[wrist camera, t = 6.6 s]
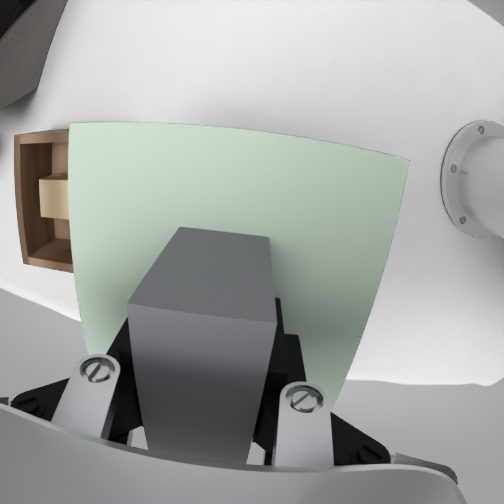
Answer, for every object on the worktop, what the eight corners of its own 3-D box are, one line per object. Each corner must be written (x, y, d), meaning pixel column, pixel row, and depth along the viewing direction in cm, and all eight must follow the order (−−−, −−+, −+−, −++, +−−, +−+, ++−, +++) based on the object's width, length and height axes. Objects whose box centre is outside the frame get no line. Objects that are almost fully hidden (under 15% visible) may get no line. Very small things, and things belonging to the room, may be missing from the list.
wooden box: (138, 128, 26) (110, 131, 21) (134, 252, 31) (111, 279, 25) (51, 130, 26) (14, 135, 20) (54, 241, 30) (23, 263, 25)
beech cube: (87, 173, 27) (69, 180, 24) (88, 209, 28) (70, 219, 25) (59, 172, 27) (39, 179, 23) (60, 206, 28) (41, 216, 25)
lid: (388, 154, 12) (505, 192, 5) (316, 406, 17) (333, 513, 10) (94, 121, 11) (-33, 135, 5) (112, 381, 16) (69, 477, 10)
